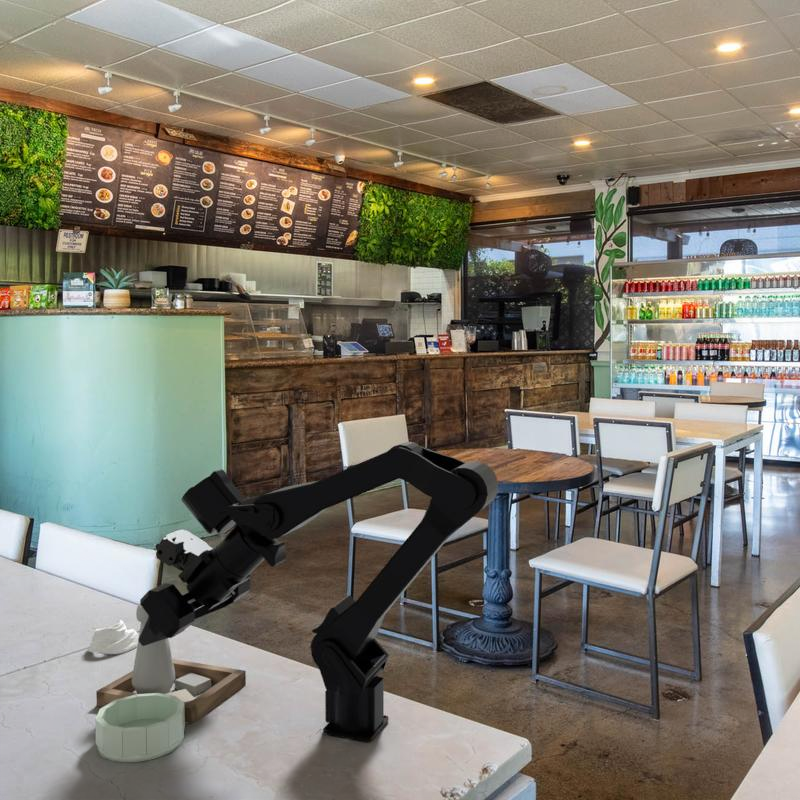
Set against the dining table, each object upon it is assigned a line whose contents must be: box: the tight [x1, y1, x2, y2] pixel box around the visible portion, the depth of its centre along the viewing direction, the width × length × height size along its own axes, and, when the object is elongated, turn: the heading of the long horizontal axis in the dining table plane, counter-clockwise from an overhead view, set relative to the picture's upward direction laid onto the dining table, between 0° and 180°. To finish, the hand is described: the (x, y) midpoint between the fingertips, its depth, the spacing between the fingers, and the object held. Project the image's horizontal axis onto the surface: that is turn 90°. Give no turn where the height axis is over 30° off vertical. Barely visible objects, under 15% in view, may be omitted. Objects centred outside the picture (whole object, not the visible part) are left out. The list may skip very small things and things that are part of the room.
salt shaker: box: [132, 603, 176, 694], centre depth 110 cm, size 6×6×13 cm
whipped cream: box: [86, 619, 139, 655], centre depth 128 cm, size 8×7×5 cm
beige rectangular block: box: [166, 689, 196, 703], centre depth 107 cm, size 4×3×2 cm
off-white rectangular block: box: [174, 673, 212, 696], centre depth 113 cm, size 4×3×2 cm
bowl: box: [94, 693, 186, 763], centre depth 97 cm, size 10×10×4 cm
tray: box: [96, 658, 247, 725], centre depth 111 cm, size 15×13×2 cm
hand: (162, 631), depth 110 cm, fingers open, 9 cm apart
